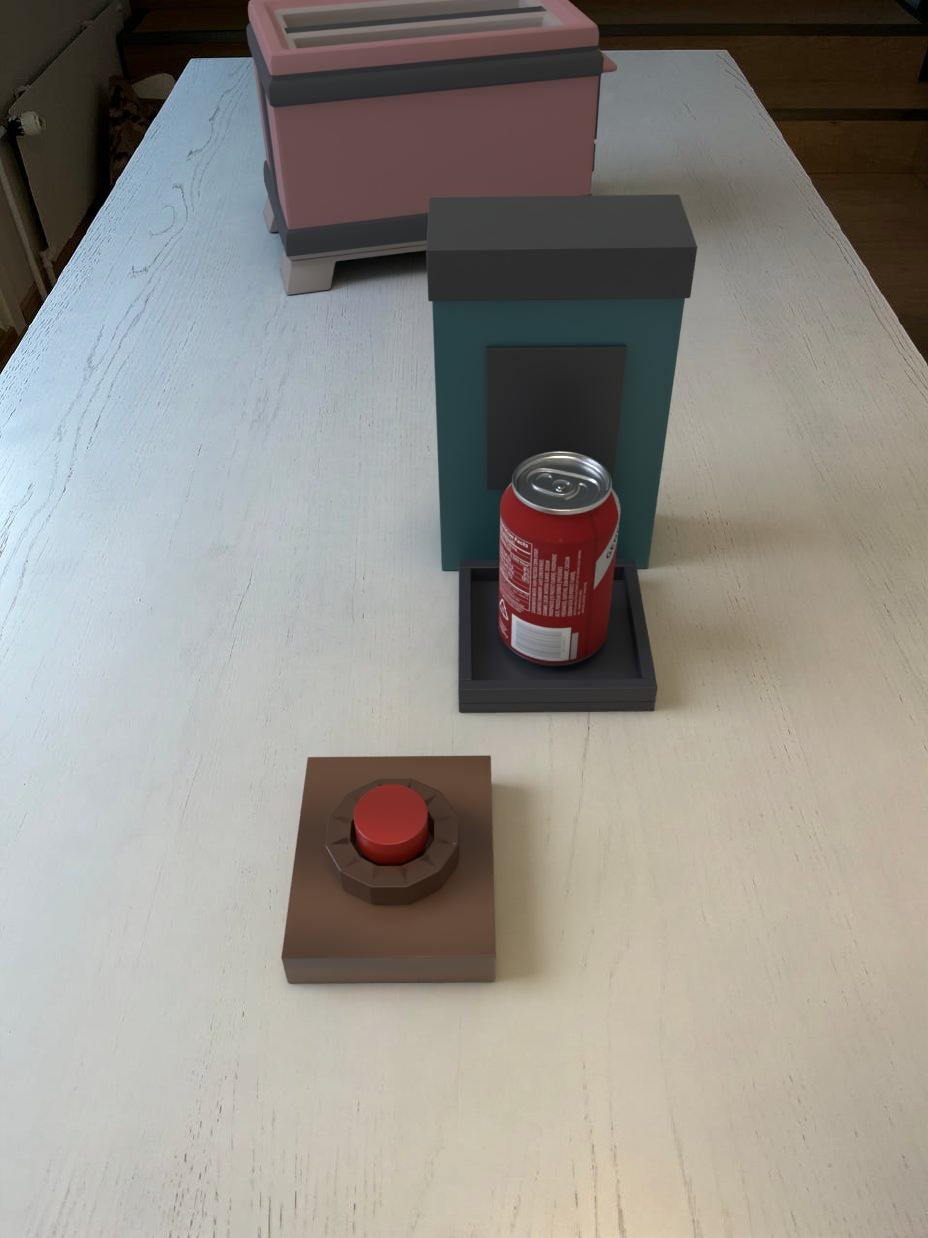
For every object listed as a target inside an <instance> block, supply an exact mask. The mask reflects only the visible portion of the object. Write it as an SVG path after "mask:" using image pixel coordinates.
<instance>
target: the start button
mask: <svg viewBox="0 0 928 1238" xmlns="http://www.w3.org/2000/svg"><path fill="white" fill-rule="evenodd" d="M354 824H355V831H356V838H357V843H358V846H359V848H360V850H361V851H362V853H363V854H364V855H365V856H366V857H368V858H369V859H370V860H372V861H374V862H377V863H380V864H384V865H397V864H402V863H405V862H408V861H410V860H412V859H413V858H415V857H416V856H417V855H419V854H420V853H421V851H422V850H423V849H424V847H425V846H426V844H427V841H428V837H429V828H428V811H427V806H426V803H425V801H424V799H423V798H422V797H421V796H420V795H419V794H418V793H417V792H416V791H414V790H413V789H411V788H409V787H406V786H403V785H396V784H390V785H383V786H379V787H376V788H374V789H372V790H370V791H369V792H367V793H366V794H365V795H364V796H363V797H362V798H361V799H360V800H359V802H358V803H357V805H356V807H355V810H354Z"/></svg>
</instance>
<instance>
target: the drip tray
mask: <svg viewBox="0 0 928 1238" xmlns="http://www.w3.org/2000/svg"><path fill="white" fill-rule="evenodd" d="M457 647H458V650H457V651H458V658H457V660H458V661H457V663H458V665H457V667H458V669H457V671H458V672H457V673H458V674H457V675H458V678H457V680H458V681H457V682H458V683H457V684H458V685H457V686H458V687H457V688H458V689H457V693H458V694H457V695H458V697H457V698H458V713H533V712H534V713H535V712H536V713H542V712H543V713H545V712H639V711H640V712H645V711H646V712H648V711H650V712H652V711H655V707H656V701H657V693H658V683H657V676H656V670H655V664H654V660H653V653H652V648H651V642H650V636H649V630H648V624H647V619H646V613H645V606H644V602H643V596H642V590H641V584H640V577H639V573H638V569H637V567H636V562H635V559H615V567H614V576H613V585H612V594H611V603H610V612H609V622H608V631H607V636H606V639H605V641H604V643H603V645H602V646H601V648H600V649H599V650H598V651H597V652H596V653H594V654H593V655H592V656H590V657H589V658H587V659H585V660H583V661H580V662H577V663H574V664H569V665H563V666H548V665H541V664H537V663H533V662H530V661H528V660H525V659H523V658H521V657H519V656H518V655H516V654H515V653H514V652H512V651H511V650H510V649H509V648H508V647H507V646H506V644H505V643H504V642H503V640H502V638H501V635H500V632H499V560H460V561H459V570H458V646H457Z"/></svg>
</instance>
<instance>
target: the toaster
mask: <svg viewBox="0 0 928 1238" xmlns="http://www.w3.org/2000/svg"><path fill="white" fill-rule="evenodd" d="M247 14H248V21H249V23H247V26H246V29H245V30H246V37H247V38H246V39H247V44H248V47H249V51H250V53H251V56H252V61H253V70H254V77H255V85H256V92H257V99H258V106H259V113H260V121H261V129H262V136H263V144H264V150H265V151H264V152H265V158H266V159H265V160H264V161H263V169H262V171H263V183H264V186H265V190H266V193H267V197H266V201H265V204H264V207H263V211H262V214H263V217H264V220H265V224H266V228H267V231H268V233H277V232H278V234H279V237H280V240H281V243H282V246H283V247H282V253H281V260H280V266H279V273H280V277H281V281H282V283H283V287H284V291H285V295H286V296H291V295H298V294H305V293H306V294H307V293H314V292H321V291H329V290H330V289H331V287H332V282H333V276H334V273H335V266H336V262H340V261H342V262H343V261H347V260H358V259H365V258H375V257H380V256H381V257H382V256H383V257H384V256H389V255H390V256H391V255H398V254H405V253H415V252H422V251H426V247H427V229H428V211H429V198H446V197H523V196H594V195H593V194H592V182H593V181H592V180H593V172H594V171H595V159H596V148H597V147H596V142H595V140H597V137H598V125H599V109H600V98H601V97H600V94H601V84H602V83H601V81H602V79H601V78H602V74H606V73H612V72H613V73H614V72H617V69H618V66H617V64H616V63H615V62H614V60H612V59H611V58H610V57H609V56H608V55H607V54H606V53H604V52H603V51H602V50H601V49H600V48H599V42H600V41H599V39H600V30H599V26H598V24H596V23H595V22H594V21H593V20H591V19H590V18H589V17H588V16H587V15H586V14H585V13H583V12H582V11H581V10H580V9H579V8H578V7H576V6H575V5H574V4H573V3H572V2H571V1H570V0H249V1H248V5H247Z"/></svg>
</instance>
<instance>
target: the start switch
mask: <svg viewBox="0 0 928 1238" xmlns="http://www.w3.org/2000/svg"><path fill="white" fill-rule="evenodd" d="M390 784H396V785H403V786H406V787H409V788H411V789H413V790H414V791H416V792H417V793H418V794H419V795H420V796H421V797H422V798H423V799H424V801H425V803H426V806H427V811H428V828H429V837H428V841H427V844H426V846H425V847H424V849H423V850H422V851H421V853H420V854H419V855H417V856H416V857H415V858H413V859H412V860H410V861H408V862H405V863H402V864H397V865H384V864H380V863H377V862H374V861H372V860H370V859H369V858H368V857H366V856H365V855H364V854H363V853H362V851H361V850H360V848H359V846H358V843H357V838H356V831H355V824H354V810H355V807H356V805H357V803H358V802H359V800H360V799H361V798H362V797H363V796H364V795H365V794H366V793H367V792H369V791H370V790H372V789H374V788H376V787H379V786H383V785H390ZM492 786H493V785H492V756H491V755H397V756H396V755H395V756H394V755H389V756H387V755H383V756H379V755H378V756H376V755H375V756H307V758H306V767H305V775H304V782H303V790H302V798H301V805H300V812H299V820H298V827H297V836H296V842H295V851H294V857H293V858H294V859H293V866H292V873H291V881H290V888H289V897H288V902H287V903H288V904H287V912H286V918H285V927H284V933H283V943H282V948H281V949H282V950H281V956H280V958H281V962H282V966H283V970H284V974H285V977H286V982H287V984H324V983H325V984H331V983H332V984H334V983H337V984H338V983H339V984H340V983H341V984H345V983H349V984H350V983H481V982H483V983H484V982H489V983H490V982H491V983H493V982H496V921H495V920H496V919H495V917H496V916H495V913H496V911H495V876H494V869H495V868H494V832H493V831H494V829H493V826H494V825H493V791H492V790H493V789H492Z"/></svg>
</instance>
